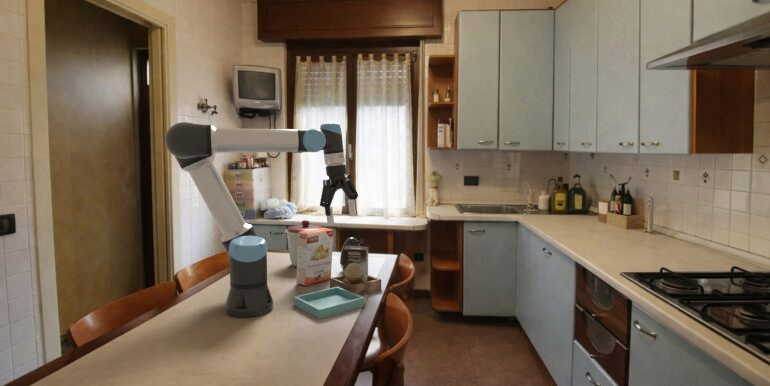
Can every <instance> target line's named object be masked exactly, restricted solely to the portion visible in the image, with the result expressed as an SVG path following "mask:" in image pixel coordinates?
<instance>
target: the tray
mask: <svg viewBox="0 0 770 386" xmlns="http://www.w3.org/2000/svg"><path fill="white" fill-rule="evenodd" d="M293 306H294V307H296V308H298V309H300V310H302V311H303V312H306V313H307V314H309V315H311V316H313V317H315V318H316V319H318V320H321V319H325V318H328V317H333V316H336V315H339V314H342V313H345V312H349V311H352V310H357V309H360V308H363V307H365V306H366V297H364V296H363V295H357V294H355V293H352V292H350V291H347V290H345V289H342V288H340V287H338V286H337V287H333V288H330V287H329V288H325V289H321V290H316V291H312V292H309V293H304V294H299V295H296V296H295V295H294V296H293Z"/></svg>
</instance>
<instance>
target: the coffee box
mask: <svg viewBox="0 0 770 386" xmlns="http://www.w3.org/2000/svg"><path fill="white" fill-rule="evenodd" d="M342 275H343V282H345V283H347V284H350V285H356V284H360V283H364V282H368V275H369V246H361V245H360V246H345V248H344V249H343V269H342Z"/></svg>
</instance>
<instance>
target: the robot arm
mask: <svg viewBox="0 0 770 386" xmlns="http://www.w3.org/2000/svg"><path fill="white" fill-rule="evenodd" d="M164 143H165V146H166V149H167V150H168V151H169V153H170V154H171V155H173V156H174V158H175V160H176V162H177V163H178V165H179V167H180V169H181V170H182V171H184V172H188V173H189V175H190V177H191V179H192V181H193V182H194V184H195V186H196V189H197V190H198V191H199V193H200V195H201V198H202V199H203V201H204V203H205V205H206V207H207V208H208V211H209V212H210V215H211V216H212V217H213V219H214V221H215V223H216V225H217V227H218V229H219V231H220V232H221V238H220V242H221V244H222V245H223V248H224V250H225V252H226V253H227V255H228V259H229V285H230V287H229V290H228V295H227V297H226V300H225V304H224V312H225V314H226V315H227V316H230V317H234V318H252V317H258V316H263V315H265V314H267V313H270V312H271V311H272V310H273V309H274V299H273V297H272V293H271V292H270V289H269V286H268V246H267V245H268V244H267V241H266V239H264V237H260V236H258V234H257V232H256V230H255V229H254V227H253V225H252V224H249V223H247V222H246V221H245V219H244V217H243V215H242V213H241V211H240V209H239V207H238V206H237V204H236V202H235V200H234V198H233V196H232V194H231V193H230V190H229V188H228V187H227V184H226V183H225V180H224V179H223V177H222V174H221V173H220V172H219V171H220V170H219V169H218V167H217V165H216V164H215V158H216V155H217V153H219V154H221V153H293V154H302V153H318V152H320V151H323V158H324V165H325V172H326V176H327V177H328V179H323V180H322V189H321V190H322V191H321V197H320V202H319V206H320V207H322V208H324V213H325V216H326V222H327V223H326V224H327V225H335V218H334V210H333V206H331V205H332V202H333V200H334V197H335V195H336V192H338V190H340V189H341V190H342V191H343V192H344V194H345V195H346V196H347V197H348V200H347V204H348V212H349V217H357V210H356V206H357V205H356V200H357V199H358V197H359V194H358V191H357V189H356V187H355V185H354V182H353V180H352V176H351V174H347V165H346V164H345V163H346V159H345V153H344V152H345V151H344V144H343V143H344V141H343V134H342V127H341V124H340V123H339V122H329V123H322V124H320V127H319V129H317V128H309V129H308V128H307V129H305V128H304V129H301V128H298V129H297V128H296V129H295V128H294V129H293V128H292V129H291V128H238V127H237V128H234V127H233V128H229V127H228V128H224V127H223V128H222V127H221V128H220V127H215V126H214V125H212V124H199V123H193V122H187V121H184V122H183V121H181V122H177V123H174V124H173V125H172V126H170V127H169V128H168V130H167V131H166V134H165V136H164Z"/></svg>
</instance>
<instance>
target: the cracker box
mask: <svg viewBox="0 0 770 386" xmlns="http://www.w3.org/2000/svg"><path fill="white" fill-rule="evenodd" d="M333 245H334V230H333V229H331V228H327V227H322V228H320V229H314V230H307V231H301V232H299V233H298V256H297V267H296V281H295V282H296V284H299V285H301V286H304V287H308V286H310V285H314V284H318V283H321V282H324V281H328V280H330V278H332V265H333V264H332V263H333V262H332V261H333Z"/></svg>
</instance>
